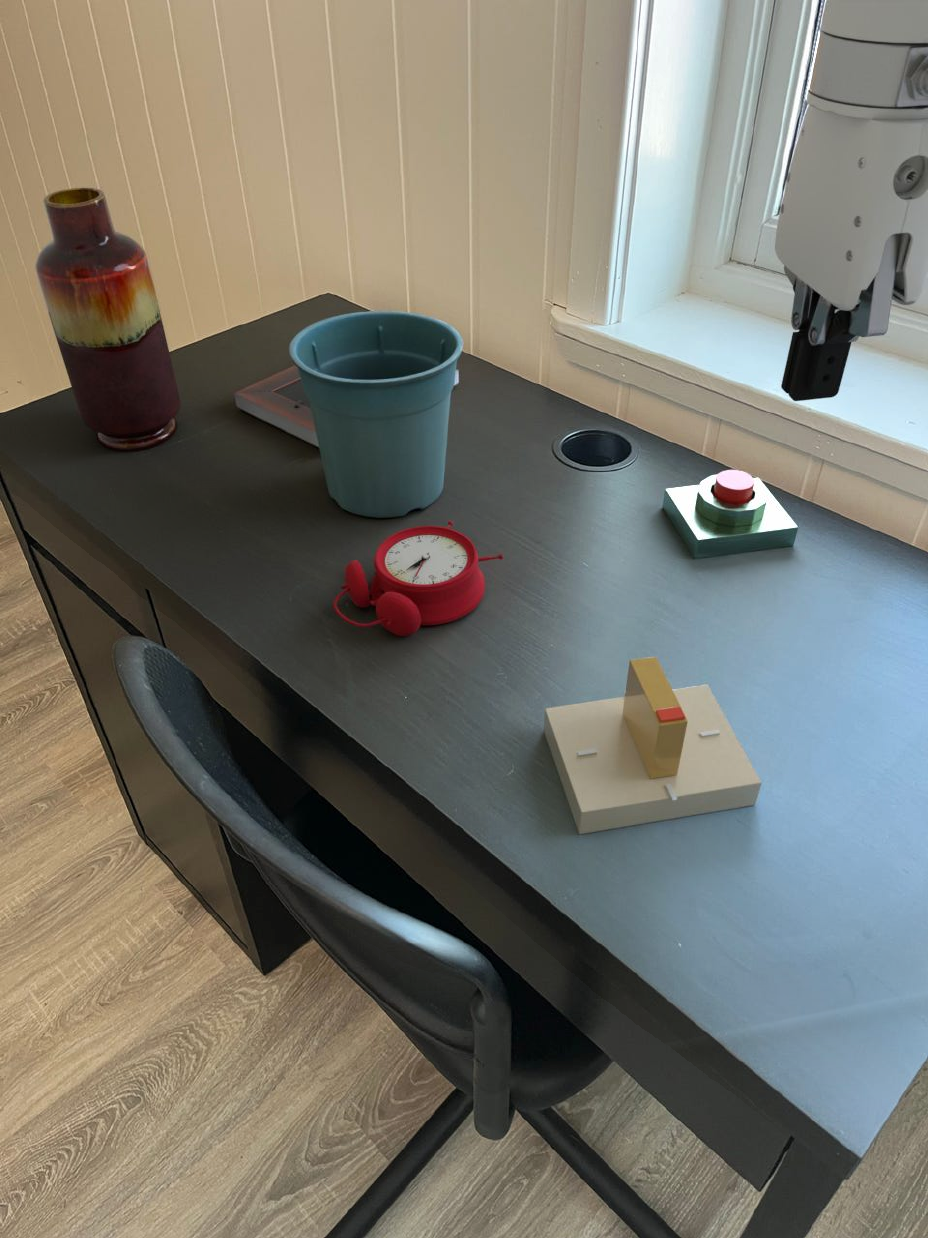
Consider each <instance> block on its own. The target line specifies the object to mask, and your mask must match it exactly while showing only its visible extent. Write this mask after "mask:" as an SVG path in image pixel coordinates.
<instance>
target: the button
mask: <svg viewBox="0 0 928 1238" xmlns="http://www.w3.org/2000/svg"><path fill="white" fill-rule="evenodd" d="M716 475H717V476H716V480H715V486H714V491H713V494H714V496H715V498H716V499H718V500H720V501H722V502H725V503H731V504H743V503H747V502H749V501H750V500H751V497H752V493H753V488H754V483H755V481H754V478H755V477H753V476H752V475H751V474H750V473H747V472H745V471H742V470H737V469H726V470H722V471H720V472H718V473H717V474H716Z"/></svg>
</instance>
